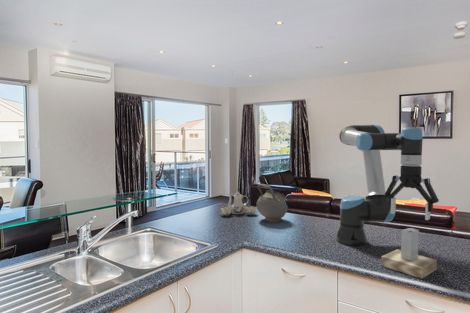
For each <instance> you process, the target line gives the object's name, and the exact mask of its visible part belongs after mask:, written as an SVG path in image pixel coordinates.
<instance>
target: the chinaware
mask: <svg viewBox="0 0 470 313" xmlns="http://www.w3.org/2000/svg"><path fill="white" fill-rule="evenodd" d="M244 197H246V198H247V202H245V203H243V201H242V200H243V199H244ZM228 199H229V200H228V203H227V206H225V207H220V209H219V213H222V215H224V216H225V217H229V216H230V215H231V214H233V215H243V214H244V212H245V211H246V213H247V214H248V216H253V215H254V214H255V213H256V214H257V213H258V211H257V210H258V209H257V206H254V205H250V206H247V204H248V203H249V199H250V198H249V197H248V196H247V195H242V194H241V193H240V192H239V191H238V190H237V191H236V193H235V194H233V204H232V195H228ZM221 211H222V212H221Z"/></svg>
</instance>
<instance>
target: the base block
mask: <svg viewBox="0 0 470 313" xmlns="http://www.w3.org/2000/svg"><path fill="white" fill-rule="evenodd" d="M380 260H381V263H380V266H382V267H385V268H387V269H390V270H394V271H397V272H400V273H404V274H406V275H409V276H412V277H415V278H418V279H424V278H426V277H428V276H429V275H430V274H432V273H434V272H435V271H437V269H438V268H437V264H438V259H434V258H432V257H427V256H424V255H419V254H418V258H416V259H414V260H411V261H409V260H406V259H403V258H401V249H395V250H392V251H390V252H388V253H386V254H383V255H381V259H380Z"/></svg>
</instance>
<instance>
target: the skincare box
mask: <svg viewBox="0 0 470 313" xmlns="http://www.w3.org/2000/svg"><path fill="white" fill-rule="evenodd" d="M400 239H401V244H400V250H401V258H403V259H406V260H409V261H411V260H414V259H416V258H418V255H419V243H420V242H419V240H420V230H419V229H416V228H412V227H411V228H410V227H408V228H405V229H402V230H401V238H400Z"/></svg>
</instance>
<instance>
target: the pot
mask: <svg viewBox="0 0 470 313" xmlns="http://www.w3.org/2000/svg"><path fill="white" fill-rule="evenodd" d="M261 187H263V188H267V189H268V190H265V193H264V194H263V192H262V189H261ZM257 189H258V191H259V193H260V195H259V197H258V199H257V200H256V207H257V209H256V210H257V212H258V213H259V215H261V216H263V217H264V218H265V221H267V222H271V223H278V222H281V220H282V218H284V216H285V215H286V214H287V212H288V205H287V202H286V198H287V196H286V195H285V194H284V193H281V192H278V191H274V190H273V188H272V187H271V186H270V185H268V184H265V183H259V184H257Z"/></svg>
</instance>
